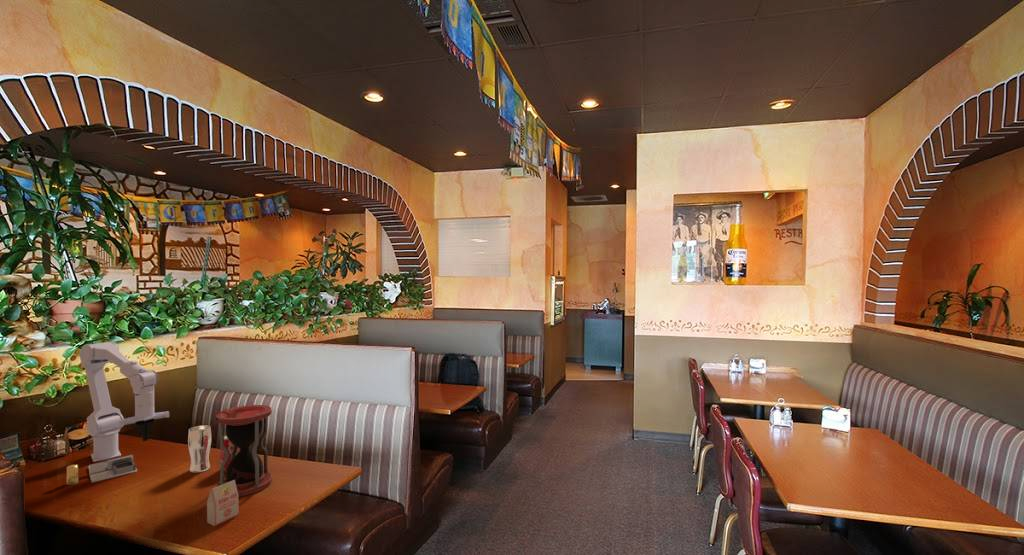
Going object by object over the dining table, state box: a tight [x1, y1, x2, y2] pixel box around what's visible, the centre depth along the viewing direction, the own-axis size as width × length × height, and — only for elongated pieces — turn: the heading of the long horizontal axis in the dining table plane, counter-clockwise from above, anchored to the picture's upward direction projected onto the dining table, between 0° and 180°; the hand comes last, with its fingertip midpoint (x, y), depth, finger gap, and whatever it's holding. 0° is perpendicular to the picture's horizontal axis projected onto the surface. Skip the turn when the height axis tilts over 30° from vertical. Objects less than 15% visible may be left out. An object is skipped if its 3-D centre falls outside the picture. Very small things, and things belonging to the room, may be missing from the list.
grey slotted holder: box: [87, 454, 134, 471], centre depth 168 cm, size 9×12×4 cm
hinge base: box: [88, 460, 138, 483], centre depth 163 cm, size 9×12×4 cm
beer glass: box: [187, 424, 212, 474], centre depth 166 cm, size 7×7×15 cm
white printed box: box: [206, 480, 240, 527], centre depth 133 cm, size 4×7×10 cm, turn 152°
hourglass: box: [215, 404, 273, 497], centre depth 153 cm, size 16×16×25 cm
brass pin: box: [66, 464, 79, 486], centre depth 155 cm, size 3×3×6 cm
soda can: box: [219, 434, 240, 473], centre depth 166 cm, size 7×7×12 cm
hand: (145, 440), depth 172 cm, fingers closed
